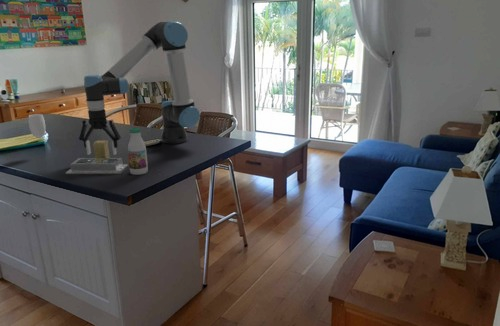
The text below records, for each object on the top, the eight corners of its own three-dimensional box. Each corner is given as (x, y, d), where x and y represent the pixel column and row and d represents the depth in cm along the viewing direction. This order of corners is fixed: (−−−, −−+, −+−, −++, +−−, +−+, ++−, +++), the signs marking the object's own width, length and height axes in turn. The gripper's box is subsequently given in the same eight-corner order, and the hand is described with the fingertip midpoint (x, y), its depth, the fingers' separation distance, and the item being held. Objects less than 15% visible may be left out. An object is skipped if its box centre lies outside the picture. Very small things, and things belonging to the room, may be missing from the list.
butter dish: (128, 165, 189) (127, 157, 187) (119, 173, 177) (118, 165, 176) (77, 165, 189) (75, 157, 188) (65, 174, 178) (64, 165, 176)
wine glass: (35, 158, 200) (28, 117, 194) (33, 154, 206) (26, 114, 200) (51, 155, 204) (44, 115, 198) (49, 152, 210) (42, 113, 204)
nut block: (109, 160, 197) (107, 140, 194) (106, 163, 192) (103, 143, 189) (99, 160, 197) (97, 140, 194) (95, 163, 192) (93, 143, 189)
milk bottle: (132, 170, 182) (127, 126, 176) (149, 169, 183) (145, 126, 177) (128, 175, 175) (123, 130, 169) (146, 175, 176) (142, 130, 169)
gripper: (124, 107, 190) (129, 151, 197) (74, 107, 190) (80, 151, 197) (119, 110, 183) (124, 156, 190) (67, 110, 183) (73, 156, 190)
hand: (102, 154), depth 193 cm, fingers open, 12 cm apart
